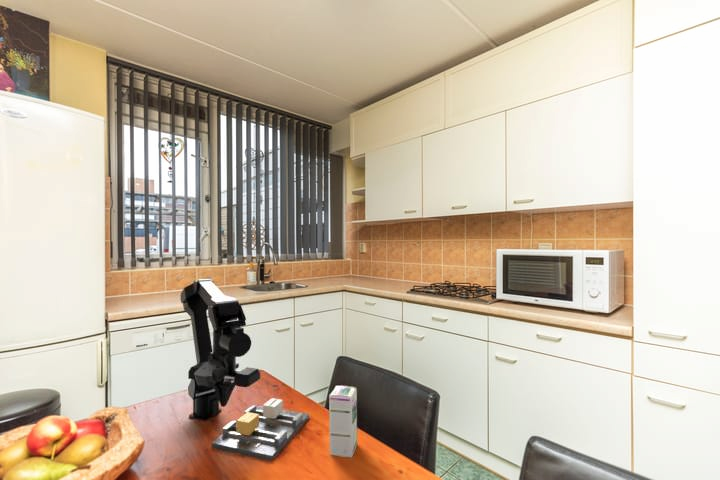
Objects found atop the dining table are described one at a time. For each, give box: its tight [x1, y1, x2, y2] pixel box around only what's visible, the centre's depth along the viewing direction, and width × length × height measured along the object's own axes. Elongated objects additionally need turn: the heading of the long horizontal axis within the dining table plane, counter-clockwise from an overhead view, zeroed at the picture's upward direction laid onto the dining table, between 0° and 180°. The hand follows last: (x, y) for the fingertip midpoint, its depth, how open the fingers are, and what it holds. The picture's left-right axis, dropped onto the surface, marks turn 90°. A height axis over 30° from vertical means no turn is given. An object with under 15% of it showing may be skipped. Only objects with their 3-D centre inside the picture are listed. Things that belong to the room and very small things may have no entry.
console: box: [211, 404, 310, 462], centre depth 89 cm, size 17×20×3 cm
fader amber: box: [236, 412, 259, 436], centre depth 85 cm, size 4×4×5 cm
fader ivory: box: [262, 397, 284, 419], centre depth 93 cm, size 4×4×5 cm
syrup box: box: [328, 385, 358, 458], centre depth 81 cm, size 6×6×14 cm
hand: (223, 406), depth 87 cm, fingers closed
